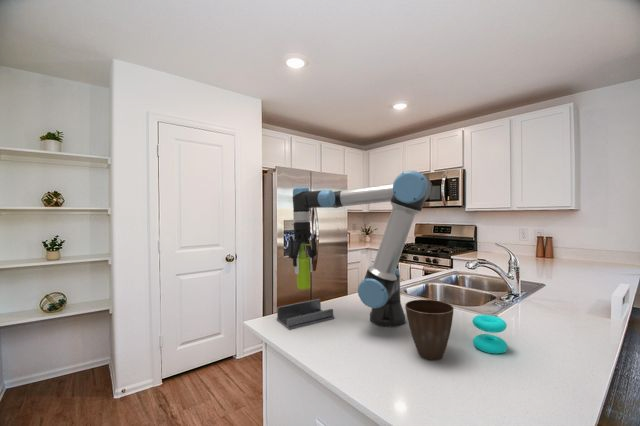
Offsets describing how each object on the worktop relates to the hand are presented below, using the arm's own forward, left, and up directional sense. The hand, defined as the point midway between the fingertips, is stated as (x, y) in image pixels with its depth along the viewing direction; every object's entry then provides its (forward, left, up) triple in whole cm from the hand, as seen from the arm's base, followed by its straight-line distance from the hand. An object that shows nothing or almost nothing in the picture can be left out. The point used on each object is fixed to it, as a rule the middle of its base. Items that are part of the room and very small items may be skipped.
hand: (303, 272), depth 133 cm
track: (0, 0, -21) cm, 21 cm away
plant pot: (-53, -19, -21) cm, 60 cm away
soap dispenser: (0, 0, -7) cm, 7 cm away
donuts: (-61, -39, -21) cm, 76 cm away
